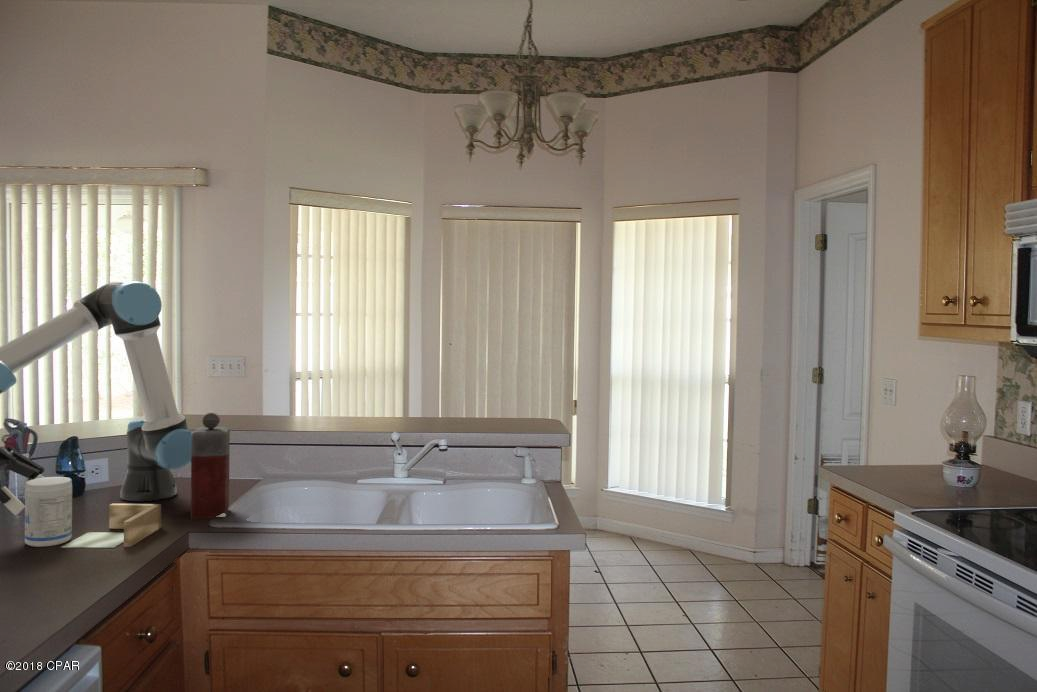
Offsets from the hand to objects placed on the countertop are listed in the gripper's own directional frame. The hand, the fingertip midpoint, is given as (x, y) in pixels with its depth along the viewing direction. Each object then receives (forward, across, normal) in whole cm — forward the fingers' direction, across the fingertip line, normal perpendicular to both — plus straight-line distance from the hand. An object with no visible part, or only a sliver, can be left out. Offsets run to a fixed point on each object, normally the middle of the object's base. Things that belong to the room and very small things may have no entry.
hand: (38, 503), depth 178 cm
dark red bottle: (+27, -29, +14) cm, 42 cm away
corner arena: (+17, -5, +4) cm, 18 cm away
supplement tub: (+8, -1, -5) cm, 10 cm away
